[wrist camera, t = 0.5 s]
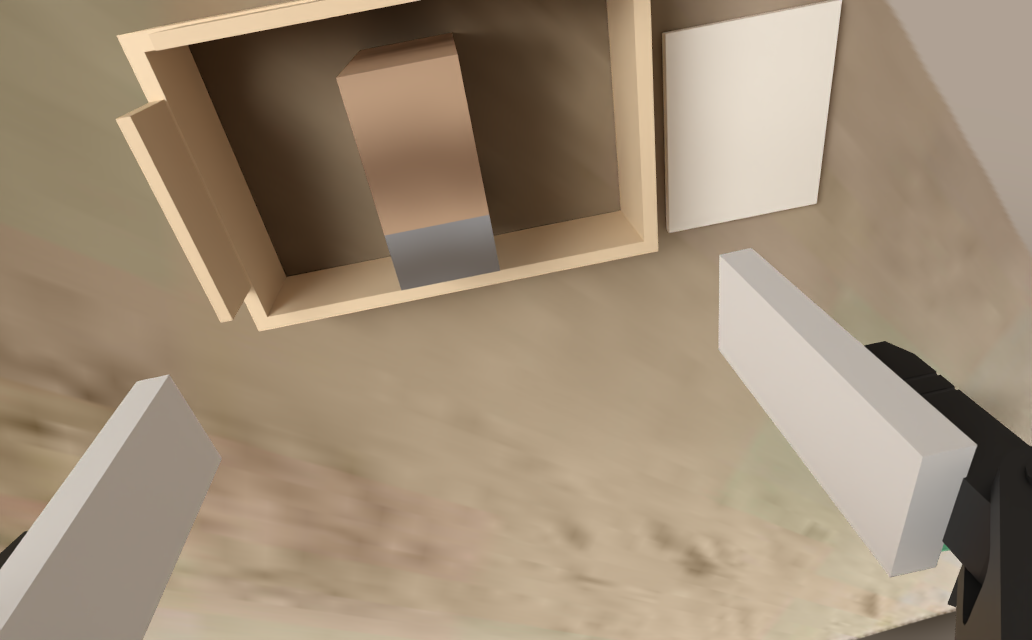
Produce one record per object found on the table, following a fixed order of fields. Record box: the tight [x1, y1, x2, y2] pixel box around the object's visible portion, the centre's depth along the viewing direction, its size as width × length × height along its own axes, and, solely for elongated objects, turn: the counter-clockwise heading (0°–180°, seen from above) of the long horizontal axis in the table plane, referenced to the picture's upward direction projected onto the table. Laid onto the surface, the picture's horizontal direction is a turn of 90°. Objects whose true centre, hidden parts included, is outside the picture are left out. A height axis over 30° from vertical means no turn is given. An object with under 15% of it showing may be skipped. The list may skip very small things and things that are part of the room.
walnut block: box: [336, 33, 500, 291], centre depth 30 cm, size 10×5×9 cm, turn 9°
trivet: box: [662, 0, 842, 233], centre depth 35 cm, size 12×10×1 cm
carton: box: [116, 0, 658, 331], centre depth 30 cm, size 16×24×8 cm, turn 99°
